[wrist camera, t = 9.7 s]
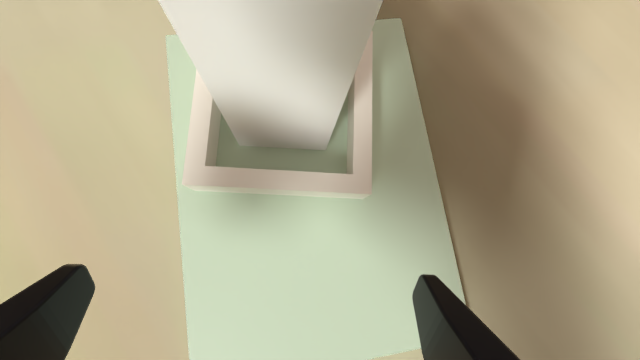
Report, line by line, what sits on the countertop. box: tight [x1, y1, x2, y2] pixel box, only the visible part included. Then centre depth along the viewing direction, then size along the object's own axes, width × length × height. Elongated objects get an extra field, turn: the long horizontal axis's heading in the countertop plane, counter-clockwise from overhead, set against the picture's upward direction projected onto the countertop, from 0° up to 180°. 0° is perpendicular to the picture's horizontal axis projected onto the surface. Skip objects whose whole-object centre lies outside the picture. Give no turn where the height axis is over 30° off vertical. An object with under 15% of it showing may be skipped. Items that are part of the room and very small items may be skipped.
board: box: [166, 18, 466, 360], centre depth 18 cm, size 20×15×1 cm
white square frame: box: [182, 31, 373, 199], centre depth 17 cm, size 10×10×2 cm
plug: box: [158, 0, 383, 150], centre depth 12 cm, size 5×5×13 cm
